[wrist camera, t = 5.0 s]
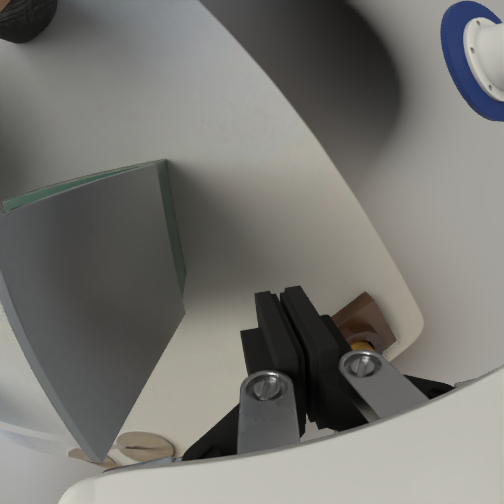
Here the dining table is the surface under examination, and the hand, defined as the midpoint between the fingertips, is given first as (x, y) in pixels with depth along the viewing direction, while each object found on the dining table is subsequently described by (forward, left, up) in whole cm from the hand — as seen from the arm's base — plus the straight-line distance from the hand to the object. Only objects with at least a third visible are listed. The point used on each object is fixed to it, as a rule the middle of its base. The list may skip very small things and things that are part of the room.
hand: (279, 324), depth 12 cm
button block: (-12, +17, -21) cm, 29 cm away
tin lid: (+8, 0, -6) cm, 10 cm away
